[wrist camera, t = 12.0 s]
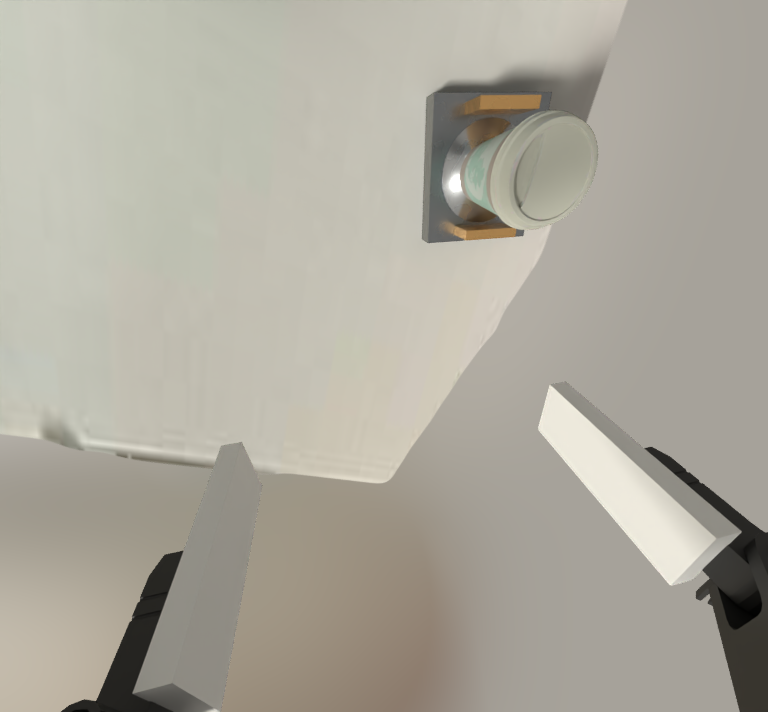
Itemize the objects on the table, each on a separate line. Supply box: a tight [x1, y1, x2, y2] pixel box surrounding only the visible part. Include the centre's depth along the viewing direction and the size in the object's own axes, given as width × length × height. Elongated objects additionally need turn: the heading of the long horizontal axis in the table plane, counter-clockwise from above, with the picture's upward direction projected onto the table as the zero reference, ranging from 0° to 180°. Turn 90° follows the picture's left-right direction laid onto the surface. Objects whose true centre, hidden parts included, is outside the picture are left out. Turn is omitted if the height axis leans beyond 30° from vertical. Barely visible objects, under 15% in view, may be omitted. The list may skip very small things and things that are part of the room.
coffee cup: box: [460, 110, 598, 230], centre depth 29 cm, size 9×9×12 cm
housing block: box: [422, 92, 552, 243], centre depth 34 cm, size 14×13×6 cm
